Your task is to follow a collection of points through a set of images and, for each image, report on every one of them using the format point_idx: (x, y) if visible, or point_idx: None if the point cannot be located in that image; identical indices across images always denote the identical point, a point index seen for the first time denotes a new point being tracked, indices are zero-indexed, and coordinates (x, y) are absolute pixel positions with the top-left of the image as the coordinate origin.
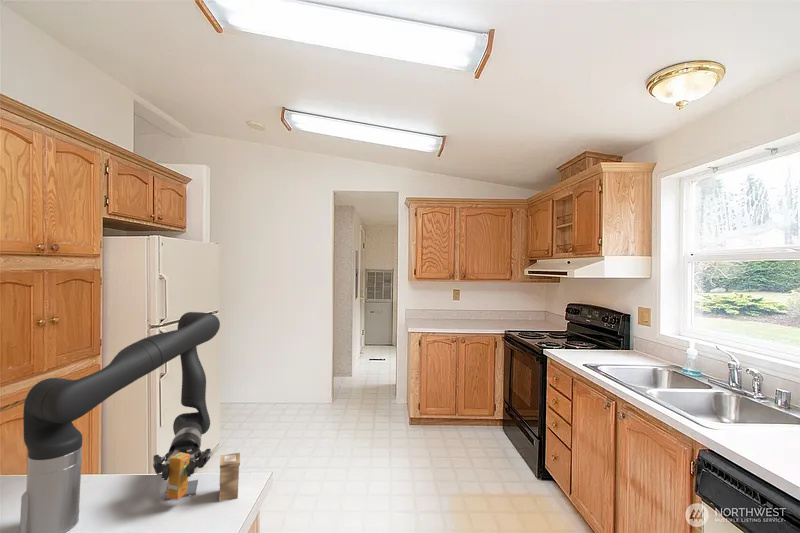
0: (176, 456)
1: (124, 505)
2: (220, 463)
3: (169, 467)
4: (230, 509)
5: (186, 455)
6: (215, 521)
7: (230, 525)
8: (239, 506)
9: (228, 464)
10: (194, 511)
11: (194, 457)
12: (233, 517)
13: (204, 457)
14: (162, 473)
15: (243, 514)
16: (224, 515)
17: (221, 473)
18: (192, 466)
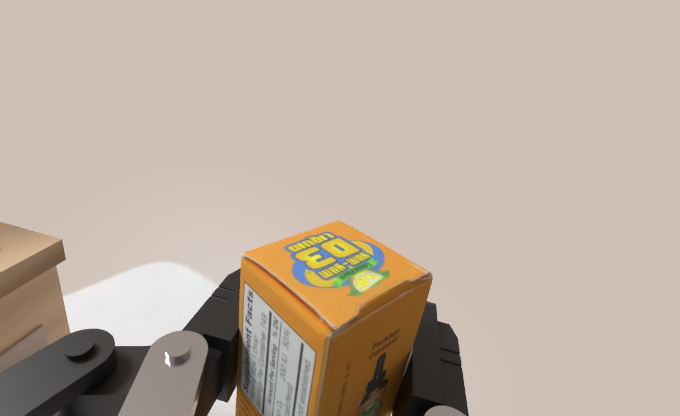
0: (376, 260)
1: None
2: (27, 255)
3: (409, 350)
4: (111, 330)
5: (281, 245)
6: (201, 302)
7: (180, 266)
8: (69, 327)
9: (7, 227)
10: (229, 408)
11: (129, 401)
12: (144, 288)
13: (31, 364)
14: (446, 327)
15: (108, 283)
16: (157, 312)
17: (55, 292)
18: (231, 294)
